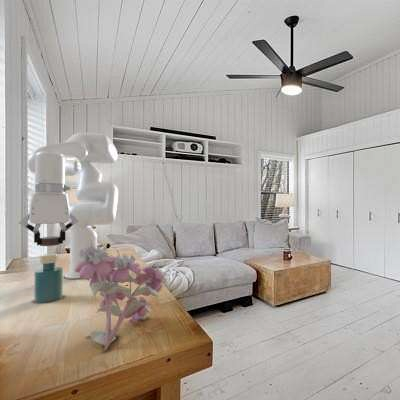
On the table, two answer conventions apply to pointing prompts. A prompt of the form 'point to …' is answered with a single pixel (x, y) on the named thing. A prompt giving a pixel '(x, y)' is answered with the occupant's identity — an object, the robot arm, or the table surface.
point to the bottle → (48, 280)
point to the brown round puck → (49, 241)
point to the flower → (117, 287)
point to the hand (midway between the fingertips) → (50, 243)
